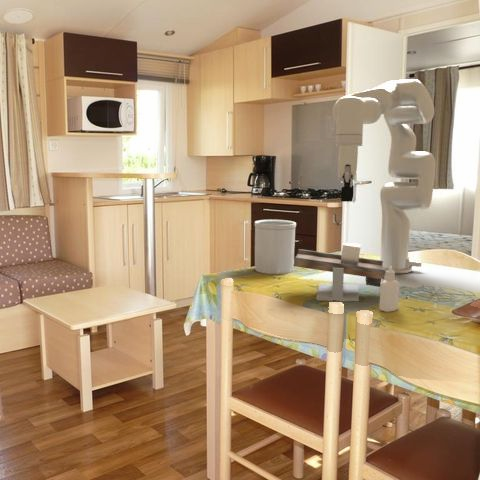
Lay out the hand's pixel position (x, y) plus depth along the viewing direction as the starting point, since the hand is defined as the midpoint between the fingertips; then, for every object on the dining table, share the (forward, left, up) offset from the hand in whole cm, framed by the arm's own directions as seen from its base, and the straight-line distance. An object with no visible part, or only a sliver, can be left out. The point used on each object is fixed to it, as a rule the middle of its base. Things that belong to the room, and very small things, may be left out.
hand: (347, 199), depth 172 cm
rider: (-1, 0, -19) cm, 19 cm away
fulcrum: (+2, 0, -28) cm, 28 cm away
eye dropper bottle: (-12, +15, -29) cm, 35 cm away
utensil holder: (+25, -30, -29) cm, 48 cm away
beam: (+2, 0, -23) cm, 23 cm away
